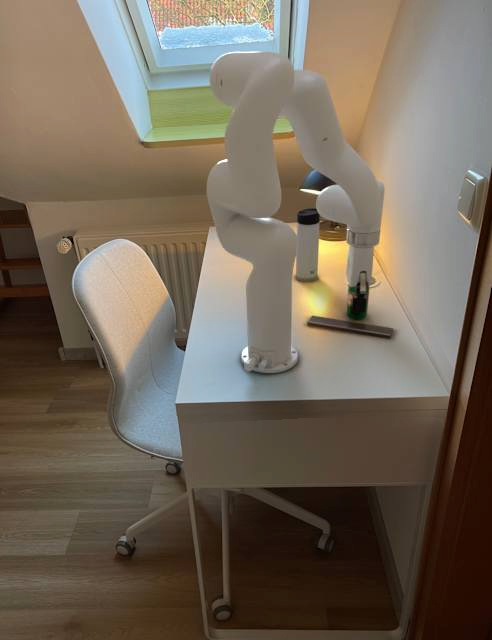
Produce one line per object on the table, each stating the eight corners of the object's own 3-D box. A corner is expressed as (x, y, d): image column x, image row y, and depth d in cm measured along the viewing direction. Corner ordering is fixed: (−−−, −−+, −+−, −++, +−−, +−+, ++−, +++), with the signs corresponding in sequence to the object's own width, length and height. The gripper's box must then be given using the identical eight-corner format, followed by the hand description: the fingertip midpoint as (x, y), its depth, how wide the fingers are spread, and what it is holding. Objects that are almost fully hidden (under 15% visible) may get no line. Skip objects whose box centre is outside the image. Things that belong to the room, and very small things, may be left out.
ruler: (390, 338, 127) (390, 335, 126) (307, 325, 135) (307, 322, 134) (393, 331, 130) (393, 327, 129) (312, 318, 138) (312, 315, 137)
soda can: (342, 318, 137) (346, 273, 130) (350, 310, 140) (354, 266, 134) (362, 322, 134) (366, 277, 128) (369, 314, 138) (374, 270, 131)
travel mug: (317, 282, 156) (320, 213, 146) (294, 281, 157) (296, 212, 147) (319, 273, 161) (322, 206, 151) (296, 273, 163) (298, 206, 152)
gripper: (343, 224, 134) (338, 292, 143) (350, 249, 119) (345, 322, 129) (374, 223, 133) (367, 292, 143) (385, 248, 119) (377, 322, 128)
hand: (357, 306), depth 136 cm, fingers closed on soda can, 5 cm apart
